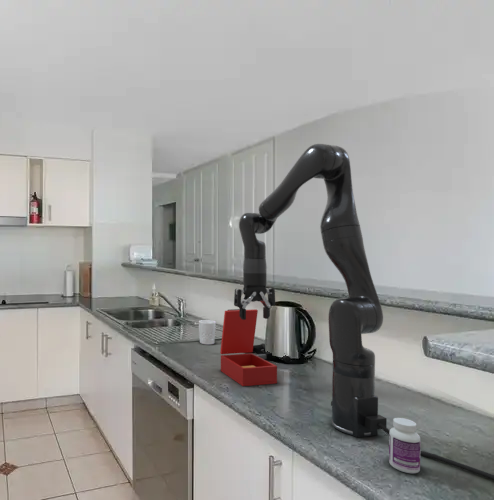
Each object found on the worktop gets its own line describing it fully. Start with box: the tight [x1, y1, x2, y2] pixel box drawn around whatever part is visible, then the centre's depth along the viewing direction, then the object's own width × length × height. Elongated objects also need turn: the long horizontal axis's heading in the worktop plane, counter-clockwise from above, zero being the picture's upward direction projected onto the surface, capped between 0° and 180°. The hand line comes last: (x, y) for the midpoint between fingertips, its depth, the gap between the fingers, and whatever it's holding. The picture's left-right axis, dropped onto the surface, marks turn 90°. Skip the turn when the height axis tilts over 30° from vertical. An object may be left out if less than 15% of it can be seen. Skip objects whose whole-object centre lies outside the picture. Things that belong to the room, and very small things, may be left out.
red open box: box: [220, 352, 278, 387], centre depth 138 cm, size 16×13×6 cm
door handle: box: [252, 343, 292, 363], centre depth 161 cm, size 3×20×16 cm
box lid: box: [219, 308, 259, 355], centre depth 145 cm, size 17×13×5 cm
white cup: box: [198, 319, 217, 345], centre depth 184 cm, size 8×8×10 cm
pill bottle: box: [388, 417, 422, 474], centre depth 83 cm, size 5×5×10 cm
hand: (254, 318), depth 134 cm, fingers open, 8 cm apart
